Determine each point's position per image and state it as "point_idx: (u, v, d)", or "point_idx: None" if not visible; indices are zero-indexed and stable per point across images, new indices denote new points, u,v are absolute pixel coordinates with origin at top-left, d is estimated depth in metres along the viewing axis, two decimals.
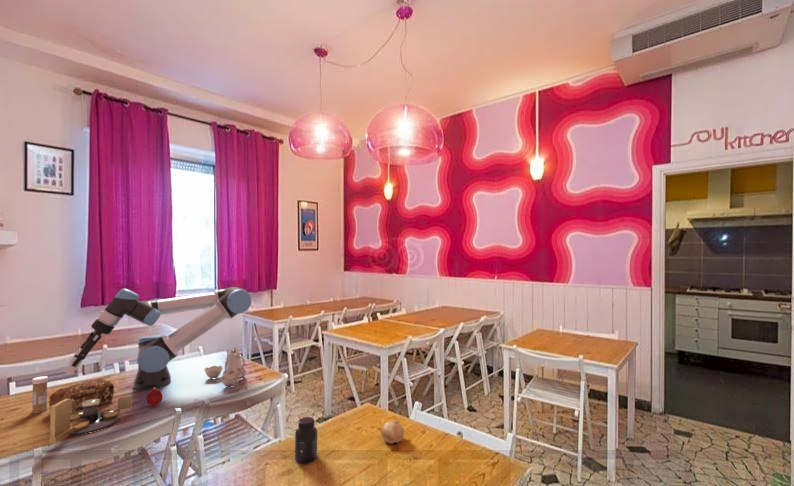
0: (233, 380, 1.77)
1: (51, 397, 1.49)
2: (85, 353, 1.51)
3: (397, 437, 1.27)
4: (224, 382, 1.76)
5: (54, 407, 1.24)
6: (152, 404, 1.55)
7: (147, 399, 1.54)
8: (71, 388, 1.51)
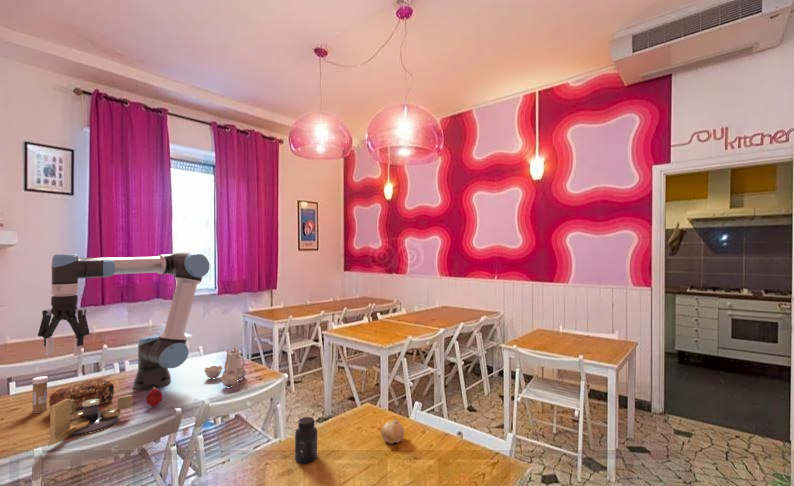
0: (233, 380, 1.77)
1: (51, 397, 1.49)
2: (87, 329, 1.44)
3: (397, 437, 1.27)
4: (224, 382, 1.76)
5: (54, 407, 1.24)
6: (152, 404, 1.55)
7: (147, 399, 1.54)
8: (71, 388, 1.51)
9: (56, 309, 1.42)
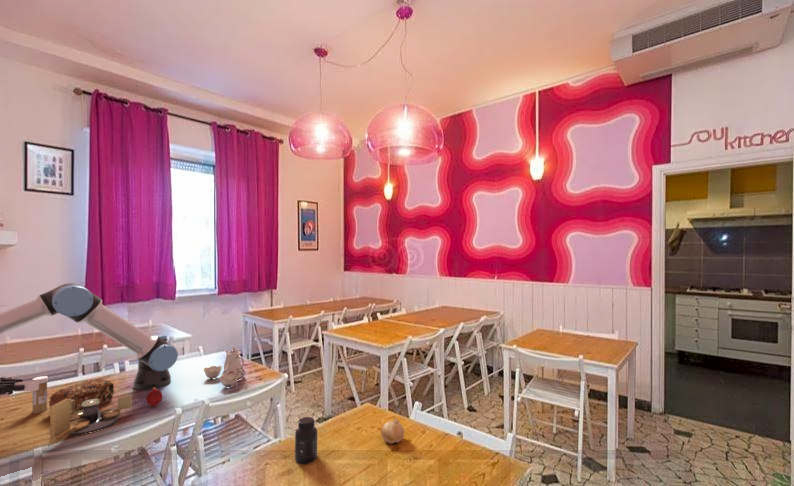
0: (232, 380, 1.77)
1: (52, 398, 1.48)
2: None
3: (397, 437, 1.27)
4: (223, 382, 1.76)
5: (54, 407, 1.24)
6: (152, 404, 1.55)
7: (147, 399, 1.54)
8: (73, 388, 1.51)
9: None
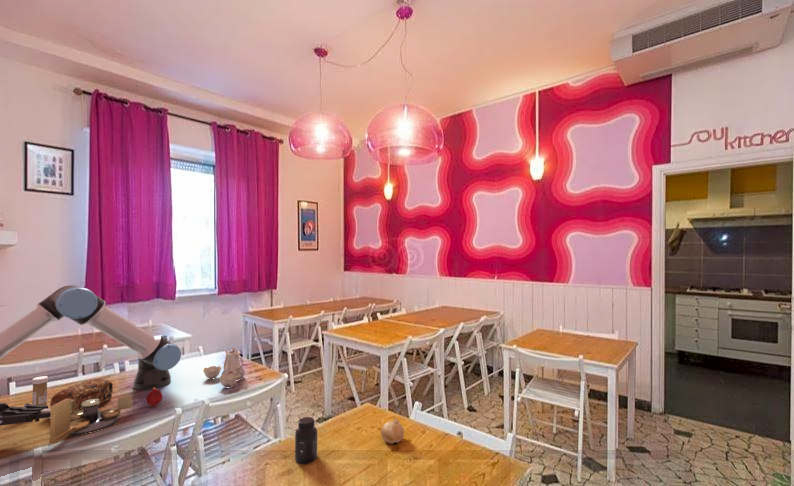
0: (231, 380, 1.76)
1: (54, 398, 1.48)
2: (23, 418, 1.24)
3: (397, 437, 1.27)
4: (222, 382, 1.76)
5: (54, 407, 1.24)
6: (152, 404, 1.55)
7: (147, 399, 1.54)
8: (76, 388, 1.51)
9: None
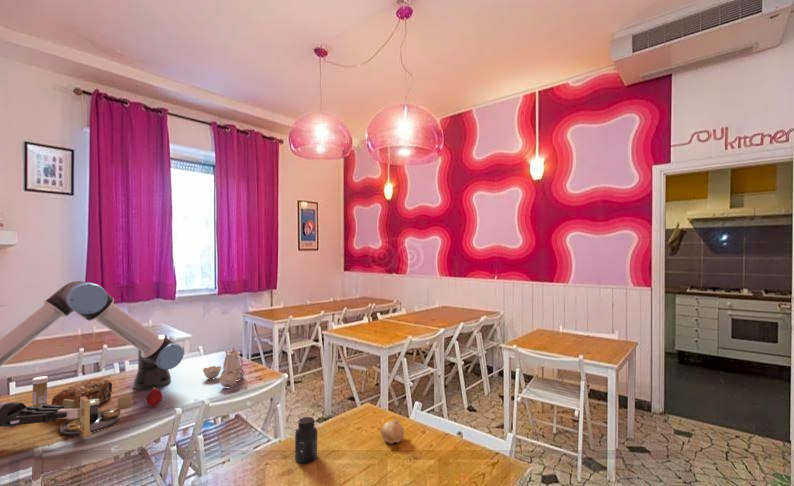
0: (231, 381, 1.76)
1: (55, 399, 1.47)
2: (40, 417, 1.25)
3: (397, 437, 1.27)
4: (222, 383, 1.76)
5: (89, 402, 1.28)
6: (152, 404, 1.55)
7: (147, 399, 1.54)
8: (77, 388, 1.52)
9: None
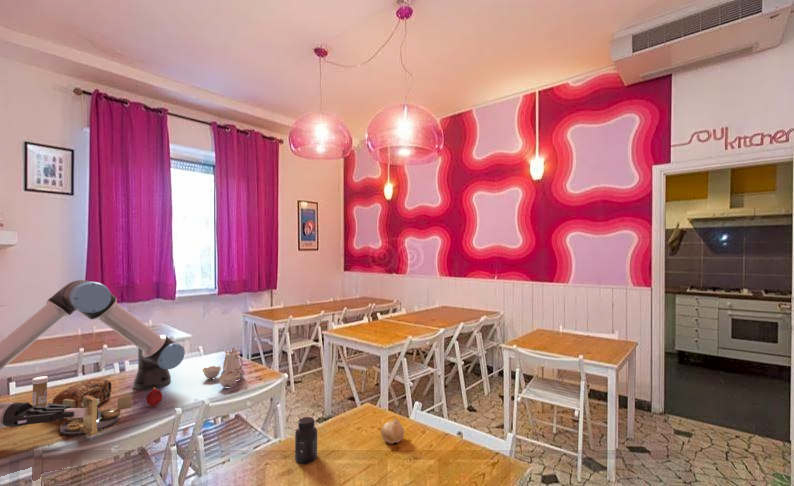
0: (231, 381, 1.76)
1: (56, 399, 1.47)
2: (47, 417, 1.25)
3: (397, 437, 1.27)
4: (222, 383, 1.75)
5: (96, 400, 1.30)
6: (152, 404, 1.55)
7: (147, 399, 1.54)
8: (78, 388, 1.52)
9: None
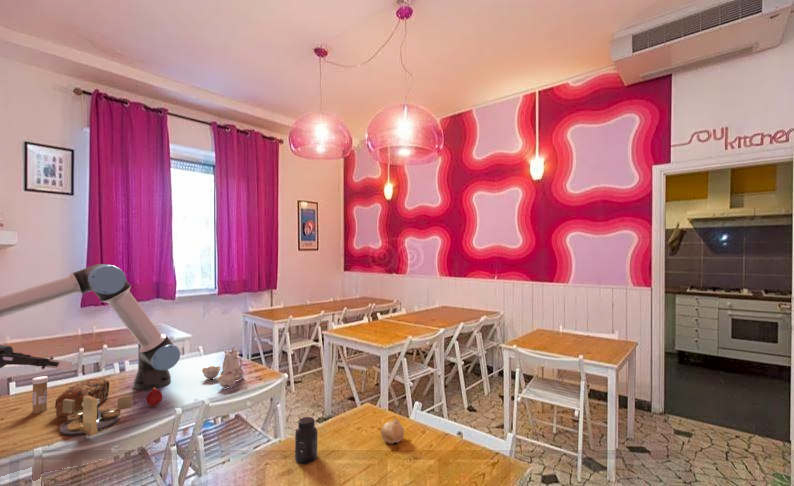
0: (230, 381, 1.76)
1: (60, 399, 1.47)
2: (34, 360, 1.30)
3: (397, 437, 1.27)
4: (221, 383, 1.75)
5: (96, 400, 1.30)
6: (152, 404, 1.55)
7: (147, 399, 1.54)
8: (81, 387, 1.52)
9: None
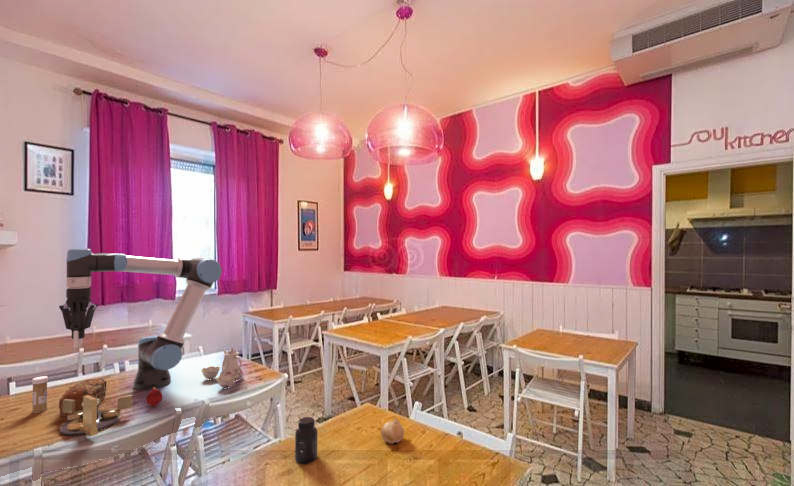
0: (229, 381, 1.75)
1: None
2: (89, 323, 1.52)
3: (397, 437, 1.27)
4: (220, 383, 1.75)
5: (96, 400, 1.30)
6: (152, 404, 1.55)
7: (147, 399, 1.54)
8: (84, 387, 1.53)
9: (70, 300, 1.50)
